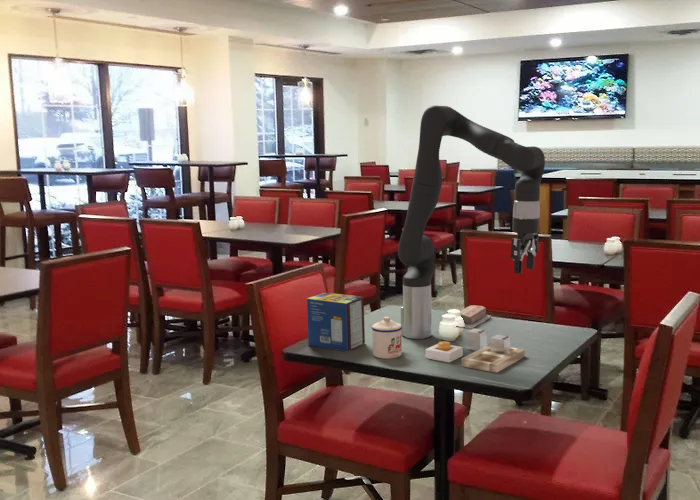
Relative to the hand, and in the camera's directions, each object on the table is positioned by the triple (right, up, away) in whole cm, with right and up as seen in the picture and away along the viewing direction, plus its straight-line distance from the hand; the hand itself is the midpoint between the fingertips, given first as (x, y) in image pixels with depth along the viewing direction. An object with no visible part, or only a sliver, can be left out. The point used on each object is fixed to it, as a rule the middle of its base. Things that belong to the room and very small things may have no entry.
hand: (524, 271), depth 211 cm
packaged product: (-9, -20, +45) cm, 50 cm away
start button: (-23, -23, +2) cm, 33 cm away
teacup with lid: (-39, -26, +8) cm, 47 cm away
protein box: (-55, -24, +19) cm, 63 cm away
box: (-23, -26, +2) cm, 35 cm away
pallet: (-10, -26, -4) cm, 28 cm away
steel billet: (-12, -24, +10) cm, 29 cm away
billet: (-7, -25, 0) cm, 26 cm away
